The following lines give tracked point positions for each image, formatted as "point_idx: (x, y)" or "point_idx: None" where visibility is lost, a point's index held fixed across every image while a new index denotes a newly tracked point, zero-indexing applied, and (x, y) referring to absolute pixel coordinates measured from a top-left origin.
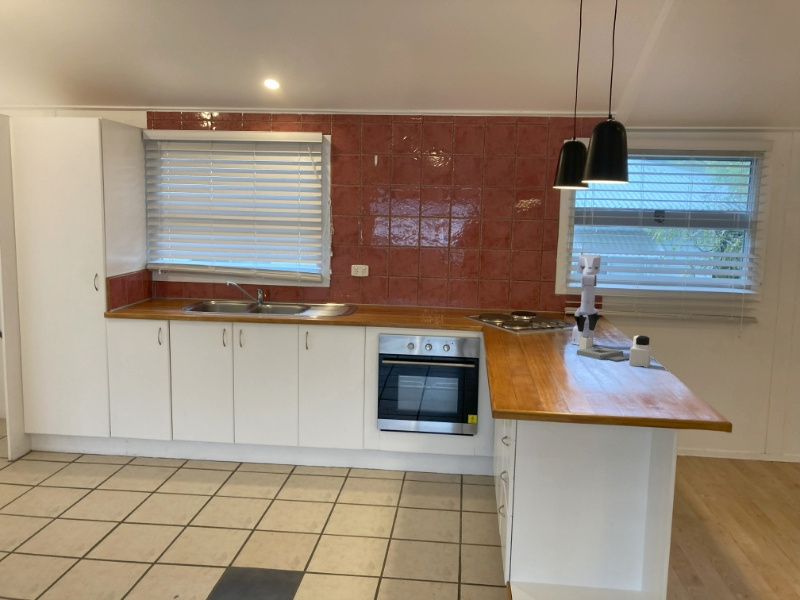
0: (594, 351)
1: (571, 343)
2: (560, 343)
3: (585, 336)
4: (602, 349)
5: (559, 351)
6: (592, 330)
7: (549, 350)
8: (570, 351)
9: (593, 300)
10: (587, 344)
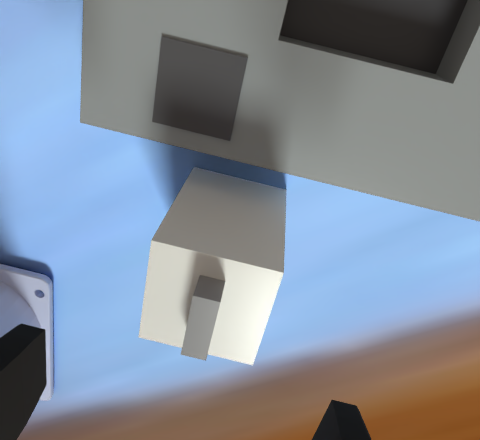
0: (375, 62)
1: (53, 391)
2: (108, 436)
3: (214, 323)
4: (238, 5)
5: (431, 356)
6: (43, 339)
7: (441, 414)
8: (361, 298)
9: None
10: (260, 223)
